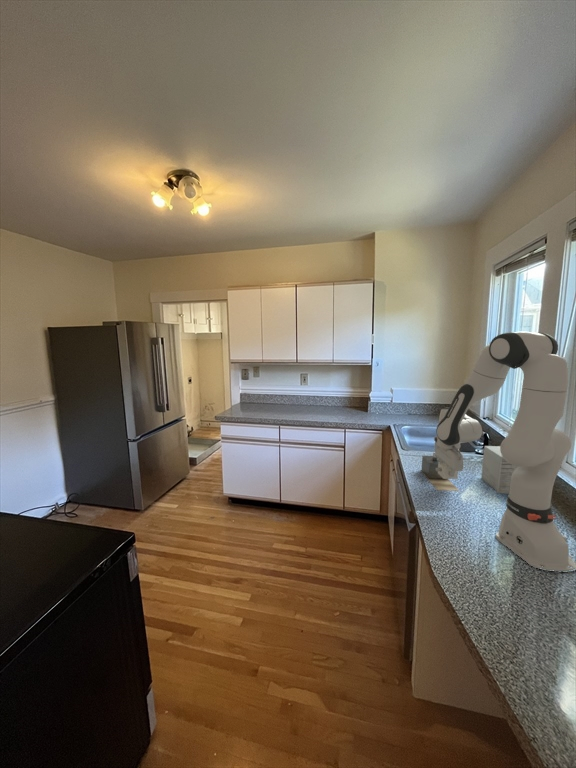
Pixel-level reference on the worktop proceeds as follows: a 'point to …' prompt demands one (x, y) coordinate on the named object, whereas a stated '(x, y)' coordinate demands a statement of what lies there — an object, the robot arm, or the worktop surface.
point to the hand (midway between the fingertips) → (447, 472)
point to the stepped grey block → (431, 466)
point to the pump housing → (445, 471)
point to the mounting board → (442, 484)
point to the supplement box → (496, 470)
